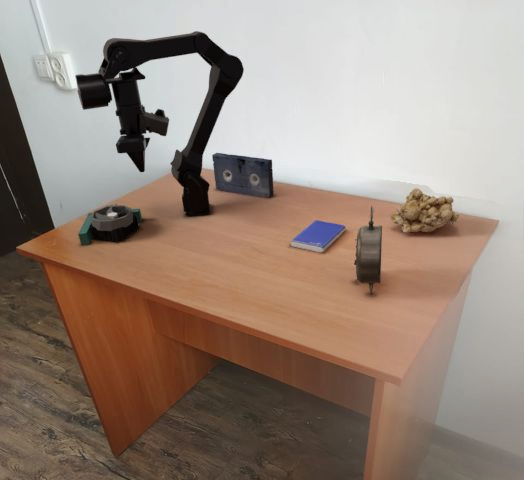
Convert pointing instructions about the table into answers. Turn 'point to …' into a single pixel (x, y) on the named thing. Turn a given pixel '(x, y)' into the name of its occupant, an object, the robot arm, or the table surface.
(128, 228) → the cpu cooler
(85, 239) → the corner stop
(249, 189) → the vhs cassette tape
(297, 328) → the table surface
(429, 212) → the mineral formation
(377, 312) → the table surface
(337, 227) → the blue book
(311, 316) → the table surface
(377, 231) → the alarm clock
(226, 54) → the robot arm
